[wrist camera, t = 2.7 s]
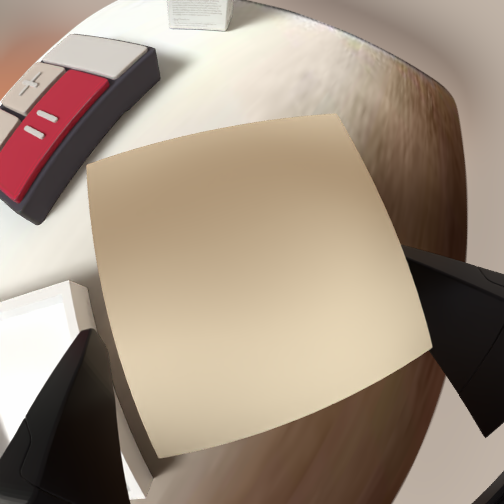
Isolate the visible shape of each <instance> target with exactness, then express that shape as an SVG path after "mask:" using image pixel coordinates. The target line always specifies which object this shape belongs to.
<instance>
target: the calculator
mask: <svg viewBox="0 0 504 504" xmlns="http://www.w3.org/2000/svg"><path fill="white" fill-rule="evenodd" d="M159 80H160V72H159V67H158V61H157V55H156V50H155V48H152V47H148V46H144V45H140V44H135V43H130V42H125V41H120V40H114V39H108V38H102V37H96V36H88V35H80V34H70V35H69V36H67V37H66V38H65V39H64V40H63V41H61V42H60V43H59V44H58V45H57V46H56V47H55V48H53V49H52V50H51V51H50V52H49V53H48V54H47V55H46V56H45V57H44V58H43V60H42V61H41V62H37V63H36V64H34V65H33V66H32V67H31V68H30V69H29V70H28V72H27V73H26V74H25V75H24V76H23V77H22V78H21V79H20V80H19V81H18V82H17V83H16V84H15V86H14V87H13V88H12V89H11V90H10V91H9V92H8V94H7V95H6V96H5V97H4V98H3V100H2V101H1V103H2V105H1V106H0V199H1V200H2V201H3V202H5V203H6V204H7V205H8V206H9V207H10V208H11V209H12V210H14V211H15V212H16V213H17V214H19V215H21V216H22V217H24V218H25V219H27V220H29V221H30V222H32V223H34V224H35V225H40V224H41V223H42V222H43V221H44V219H45V218H46V216H47V214H48V213H49V211H50V210H51V208H52V206H53V205H54V203H55V202H56V200H57V199H58V197H59V196H60V194H61V193H62V192H63V190H64V189H65V187H66V186H67V184H68V183H69V182H70V180H71V179H72V177H73V176H74V175H75V173H76V172H77V171H78V169H79V168H80V167H81V165H82V164H83V163H84V161H85V160H86V159H87V157H88V156H89V155H90V154H91V152H92V151H93V150H94V148H95V147H96V146H97V144H98V143H99V142H100V141H101V139H102V138H103V137H104V136H105V134H106V133H107V132H108V131H109V129H110V128H111V127H112V126H113V125H114V124H115V122H116V121H117V120H118V119H119V118H120V117H121V115H122V114H123V113H124V112H125V111H127V110H129V109H130V108H131V107H132V106H133V105H134V104H135V103H136V102H137V101H138V100H139V99H140V98H141V97H142V96H143V95H144V94H145V93H146V92H147V91H148V90H150V89H151V88H152V87H153V86H154V85H155V84H156V83H157V82H158V81H159Z"/></svg>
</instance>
